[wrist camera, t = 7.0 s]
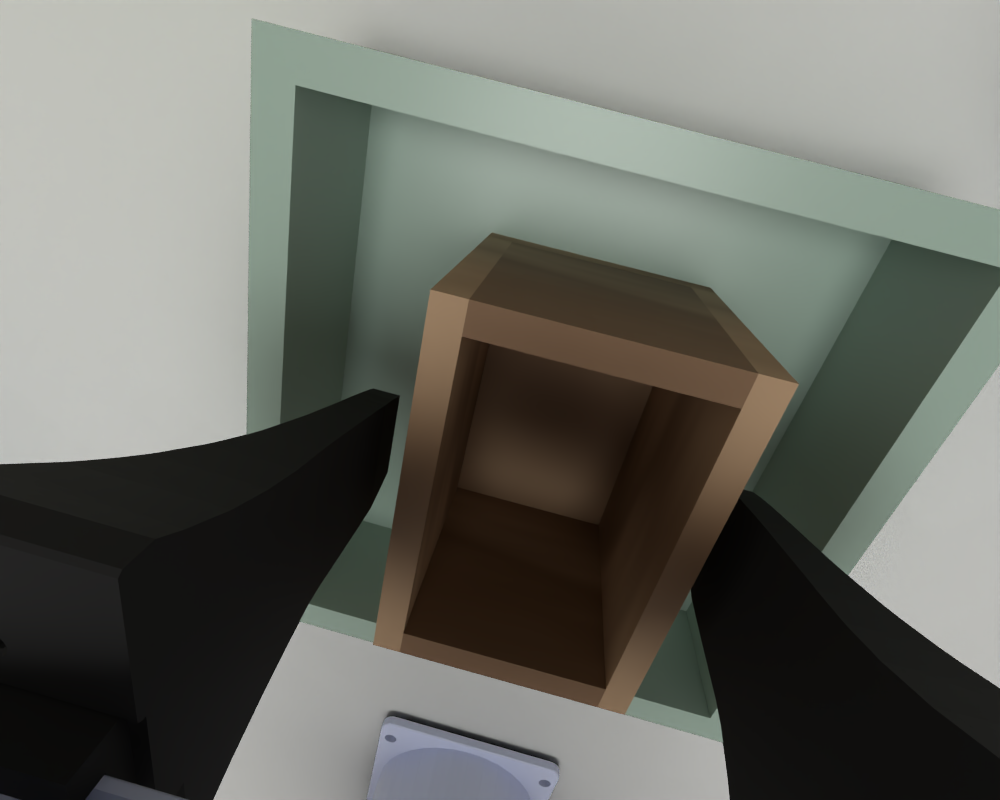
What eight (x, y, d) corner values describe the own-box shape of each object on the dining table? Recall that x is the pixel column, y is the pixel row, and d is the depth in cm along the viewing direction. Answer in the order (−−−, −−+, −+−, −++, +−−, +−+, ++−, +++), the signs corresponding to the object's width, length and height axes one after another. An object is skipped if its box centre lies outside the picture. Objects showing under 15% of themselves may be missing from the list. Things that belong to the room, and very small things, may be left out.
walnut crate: (611, 532, 17) (624, 714, 11) (439, 486, 17) (373, 644, 11) (710, 287, 13) (799, 383, 8) (491, 232, 13) (430, 289, 8)
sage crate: (695, 615, 19) (726, 743, 15) (315, 508, 19) (244, 605, 15) (927, 206, 12) (1093, 233, 8) (355, 59, 13) (251, 17, 9)
